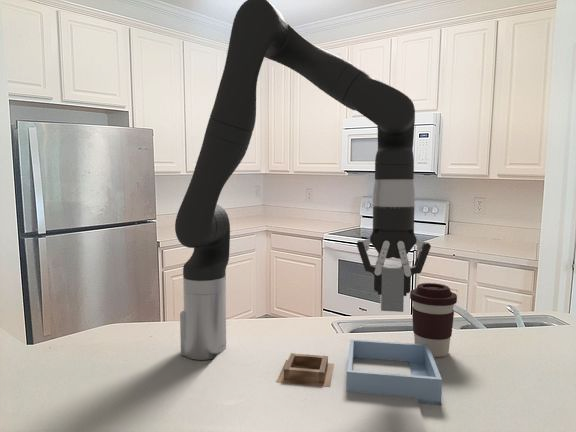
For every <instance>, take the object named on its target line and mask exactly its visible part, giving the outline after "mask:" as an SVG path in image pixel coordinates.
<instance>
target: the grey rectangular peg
mask: <svg viewBox="0 0 576 432" xmlns="http://www.w3.org/2000/svg"><path fill="white" fill-rule="evenodd" d="M381 276H382V278H381V295H380V311H381V312H397V313H398V312H400V313H404V302H405V301H404V297H405V296H404V268H403V266H402V264H384V265H383V268H382V271H381Z"/></svg>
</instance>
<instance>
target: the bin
mask: <svg viewBox="0 0 576 432" xmlns="http://www.w3.org/2000/svg"><path fill="white" fill-rule="evenodd" d="M347 358H348V359H347V366H346V367H347V369H346V392H351V393H354V392H355V393H361V394H372V395H373V394H375V395H384V396H385V395H386V396H393V397H394V396H396V397H407V398H415V399H417V403H418V404H424V405H433V406H435V405H437V406H442V396H443V395H442V392H443V378H442V375H441V374H440V371H439V368H438V366H437V364H436V361H435V357H433V356H432V353H431V351H430V348H429V346H428V345H427V344H415V343H413V342H412V343H410V342H397V341H395V342H393V341H381V340H368V339H367V340H365V339H351V338H350V339H349V347H348V357H347ZM354 358H358V359H359V358H360V359H371V360H373V359H374V360H386V361H387V360H388V361H399V362H400V361H402V362H408V367H409V370H410V374H405V373H402V374H401V373H390V372H381V371H377V372H376V371H369V370H368V371H367V370H366V371H365V370H355V369H354Z"/></svg>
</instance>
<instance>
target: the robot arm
mask: <svg viewBox="0 0 576 432" xmlns="http://www.w3.org/2000/svg"><path fill="white" fill-rule="evenodd" d="M225 58H226V59H225V63H224V69H223V72H222V74H221V75H222V76H221V78H220V81H219V86H218V89H217V92H216V96H215V99H214V104H213V106H212V109H211V112H210V114H209V119H208V122H207V126H206V128H205V133H204V137H203V140H202V144H201V147H200V151H199V154H198V157H197V159H196V163H195V167H194V170H193V173H192V177H191V179H190V182H189V185H188V187H187V190H186V191H185V195H184V196H183V199H182V202H181V204H180V206H179V209H178V211H177V214H176V218H175V222H174V230H175V231H174V232H175V235H176V238H177V240H178V241H179V243H181V245H182V246H184V247H186V248H189V249H193V252H192V255H191V256H190V257H189V259H188V260H187V261H186V262H185V263H184V264H183V266H182V267H183V268H182V278H183V279H182V280H183V282H182V284H183V310H182V311H181V312H180V314H179V323H180V325H179V327H180V329H179V331H180V333H179V334H180V356H185V357H186V358H188V359H192V360H197V361H198V360H199V361H200V360H201V361H204V360H205V361H207V360H213V359H216V357H217V356H218V355H219V354H221V353H222V352H224V351H225V350H226V349H227V293H226V292H227V288H226V287H227V285H226V284H227V282H226V274H227V272H226V271H227V267H228V264H229V261H230V249H231V248H230V245H231V244H230V243H231V242H230V241H231V224H230V219H229V215H228V213H227V211H226V210H225V209H224V208H223V207H222V206H221V205H219V204H218V201H219V198H220V195H221V192H222V191H223V188H224V187H225V185H226V184H227V181H228V180H229V179H230V177H231V176H232V175H233V173H234V172H235V171H236V169H237V168H238V166H240V164H241V162H242V161H243V159H244V157H245V155H246V153H247V150H248V148H249V145H250V142H251V139H252V136H253V132H254V130H255V124H256V120H257V87H258V81H259V79H258V78H259V75H260V71H261V67H262V65H263V62H264V59H265V58H266V59H268V60H271V61H274V62H276V63H278V64H280V65H283V66H285V67H287V68H289V69H290V70H293V71H294V72H296V73H297V74H299V75H300V76H301V77H304V78H305V79H306V80H307V81H309V82H310V83H311V84H313V85H314V86H315V87H317V88H318V90H321V91H322V93H323V92H324V93H325V94H326V95H328V96H330V97H331V98H332V99H334V100H335V101H337V102H338V103H340V104H341V105H343V106H344V107H346V108H348V109H350V110H352V111H356V112H357V113H359V114H361V115H362V116H363V117H365V118H366V119H368V120H369V121H370V122H373V124H375V125H376V126H377V151H376V153H375V158H374V184H373V190H372V191H373V192H372V231H371V235H370V237H369V238H366V239H358V240H357V241H356V242H357V243H356V247H357V250H358V253H359V256H360V260H361V262H362V265H363V268H364V270H365V272H368V273H371V274H373V282H374V283H373V289H374V292H375V293H376V292H377V295H378V296H381V278H382V276H381V271H382V268H383V265H385V261H386V259H391V258H394V259H397V260H400V263H401V264H400V265H402V266H403V268H404V297H407V295H408V294H410V291H411V284H412V283H411V281H412V280H411V279H412V278H411V277H412V276H413V275H416V274H417V275H418V274H419V275H420V274H421V273H422V271H423V268H424V265H425V264H426V260H427V258H428V255H429V252H430V250H431V248H432V246H431V243H429V242H428V241H422V240H420V239H417V236H416V234H415V195H416V194H415V191H416V190H415V184H414V183H415V182H414V181H415V180H414V179H415V178H414V176H415V175H414V174H415V170H414V169H415V165H414V164H415V161H414V159H415V158H414V157H415V156H414V151H413V150H414V149H413V146H414V136H415V121H416V109H415V105H414V103H413V101H412V99H411V98H410V97H409V96H408V95H407V94H405V93H404V92H402V91H401V90H400V89H397V88H395V87H393V86H391V85H389V84H388V83H385V82H383V81H381V80H378V79H376V78H374V77H372V75H370V74H368V73H367V72H366V71H364V70H362V69H361V68H359V67H357V65H356V66H355V65H354V64H353V63H351V62H350V61H348V60H346V59H344V58H342V57H340V56H338V55H337V54H336V53H335V54H334V53H332V52H330V51H327V50H325V49H323V48H321V47H319V46H317V45H315V44H314V43H312V42H310V41H309V40H308V39H307V38H305V37H303V36H302V35H301V34H300V33H299V32H298V31H297V30H296V29H294V27H292V26H291V25H290V24H289V23H288V22H287V21H286V19H285V18H284V16H283V14H282V13H281V12H280V11H279V10H278V9H277V8H276V7H275V5H273V4H272V3H271V2H270V1H269V0H245V1H244V2H242V4H241V5H240V6H239V8H238V10H237V11H236V14H235V16H234V19H233V23H232V27H231V32H230V36H229V43H228V49H227V53H226V57H225ZM370 245H372V247H374V249H375V250H376V252H377V253H378V254H377V257H376V262H375V265H373V264H371V262H370V258H369V255H368V251H369V250H370ZM415 245H416V250H417V252H418V254H417V256H416V259H415V261H414V264H413V266H410V262H409V258H408V254H409V253H410V251H411V250H412V249H413V248H414V246H415Z"/></svg>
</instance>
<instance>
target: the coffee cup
mask: <svg viewBox="0 0 576 432" xmlns="http://www.w3.org/2000/svg"><path fill="white" fill-rule="evenodd" d="M409 299H410V300H411V301H412V307H411V311H412V312H411V314H412V316H411V317H412V331H413V338H414V339H413V340H414V344H427V345H428V346H429V348H430V351H431V353H432V356H433V358H441V357H442V358H443V357H446V356H448V354H449V352H450V344H451V337H452V334H453V327H454V326H453V325H454V315H455V311H454V305H456V304H457V302H458V294H456V293H455V292H453V291H451V288H450V287H449V286H448V285H446V284H441V283H433V282H424V283H423V282H422V283H419V284H417V285H416V288H414V289H410V293H409Z"/></svg>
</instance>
